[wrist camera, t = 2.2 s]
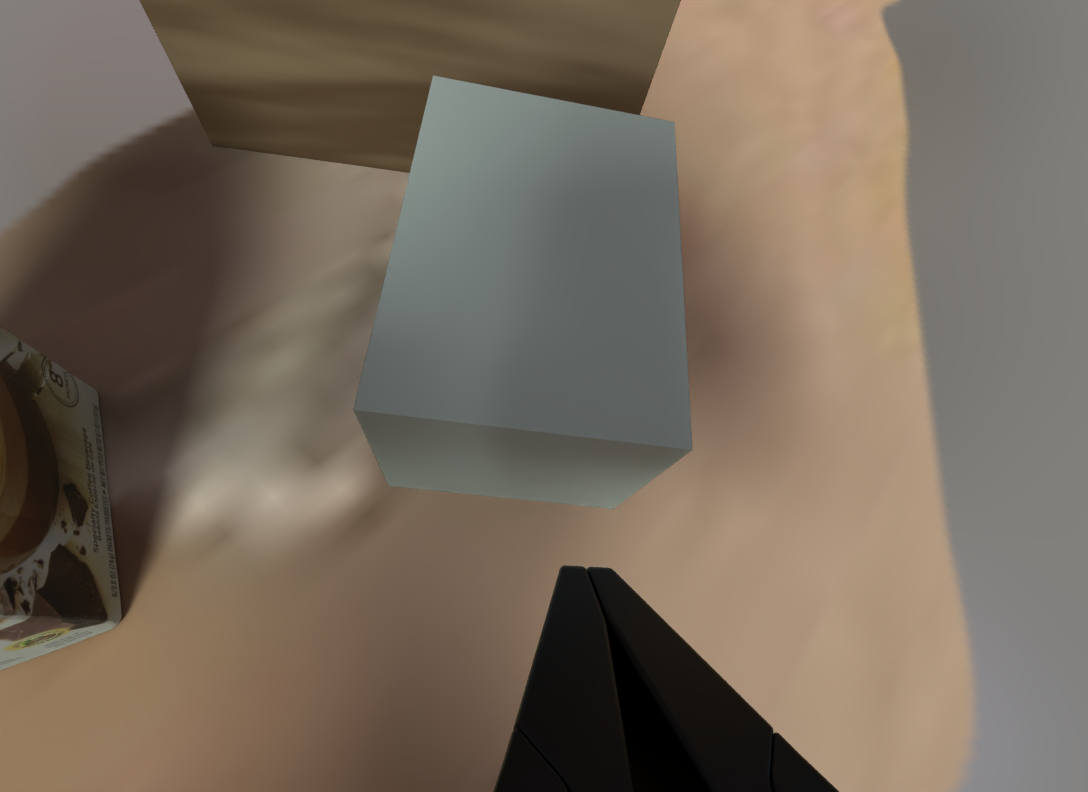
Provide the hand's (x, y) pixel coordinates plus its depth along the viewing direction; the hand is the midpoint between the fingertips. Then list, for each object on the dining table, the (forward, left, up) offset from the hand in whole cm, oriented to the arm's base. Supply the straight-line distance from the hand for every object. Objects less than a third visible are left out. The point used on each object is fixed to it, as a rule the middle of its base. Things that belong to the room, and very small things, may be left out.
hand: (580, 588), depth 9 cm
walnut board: (+22, +6, -12) cm, 25 cm away
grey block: (+11, 0, -12) cm, 16 cm away
